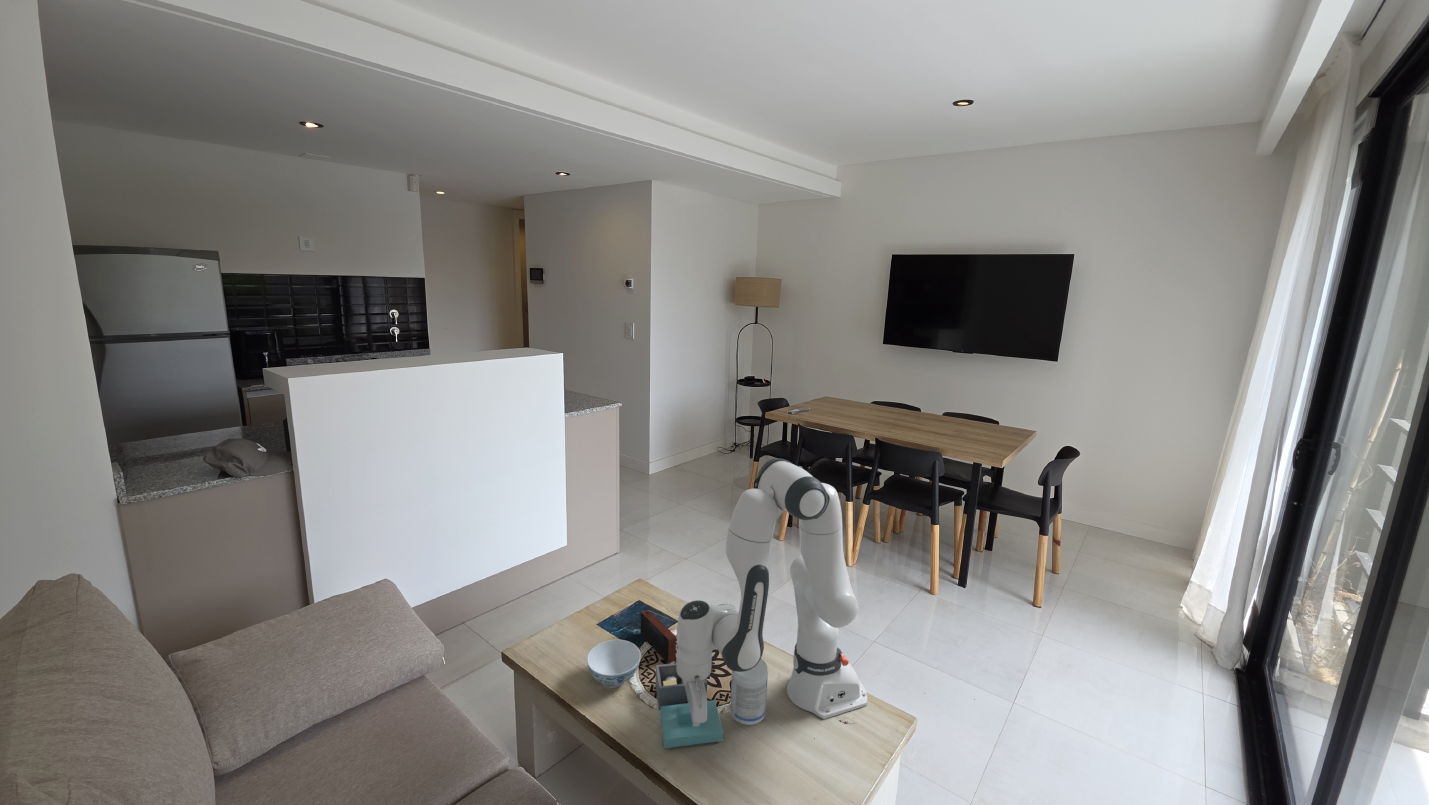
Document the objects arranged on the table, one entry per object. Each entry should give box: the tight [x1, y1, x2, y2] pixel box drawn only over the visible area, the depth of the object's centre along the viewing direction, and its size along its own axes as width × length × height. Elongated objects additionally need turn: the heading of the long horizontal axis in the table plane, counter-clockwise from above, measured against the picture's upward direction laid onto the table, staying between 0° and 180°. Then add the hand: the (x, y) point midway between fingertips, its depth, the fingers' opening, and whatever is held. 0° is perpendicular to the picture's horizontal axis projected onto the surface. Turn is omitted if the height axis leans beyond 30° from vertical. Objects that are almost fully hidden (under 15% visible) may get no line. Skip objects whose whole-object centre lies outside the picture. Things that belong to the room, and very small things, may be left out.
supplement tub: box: [729, 658, 769, 726], centre depth 152 cm, size 10×10×15 cm
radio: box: [640, 609, 678, 664], centre depth 175 cm, size 19×3×15 cm, turn 37°
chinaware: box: [586, 639, 642, 689], centre depth 163 cm, size 15×15×8 cm
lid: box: [659, 699, 724, 749], centre depth 147 cm, size 15×11×6 cm
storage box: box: [655, 662, 708, 711], centre depth 158 cm, size 13×9×7 cm
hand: (692, 709), depth 146 cm, fingers open, 8 cm apart
